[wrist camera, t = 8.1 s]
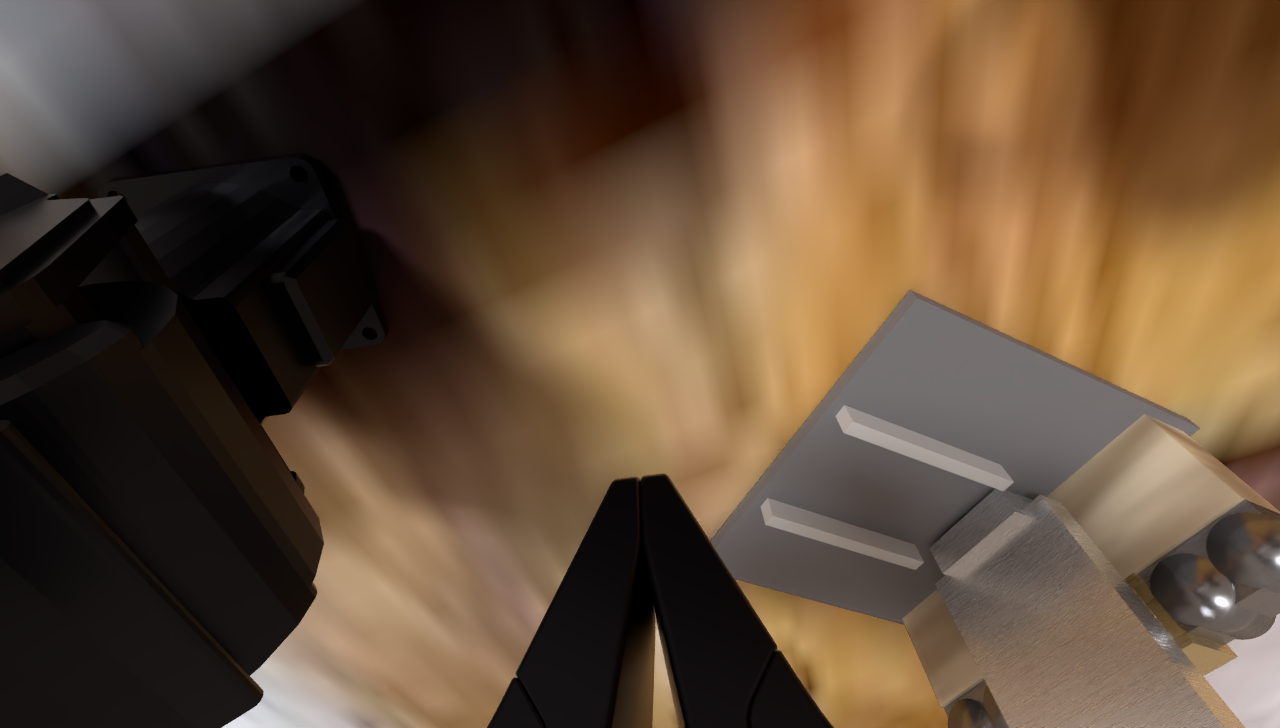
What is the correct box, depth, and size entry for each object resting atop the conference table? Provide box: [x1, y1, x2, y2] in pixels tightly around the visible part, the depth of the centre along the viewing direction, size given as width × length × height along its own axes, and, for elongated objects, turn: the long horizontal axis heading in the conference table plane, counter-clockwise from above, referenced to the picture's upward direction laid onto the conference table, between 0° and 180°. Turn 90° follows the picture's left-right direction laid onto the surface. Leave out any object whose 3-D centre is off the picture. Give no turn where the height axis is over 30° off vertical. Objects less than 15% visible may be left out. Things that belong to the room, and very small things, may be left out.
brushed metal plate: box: [929, 489, 1245, 728], centre depth 24 cm, size 6×6×10 cm
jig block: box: [902, 414, 1280, 708], centre depth 26 cm, size 2×15×4 cm, turn 155°
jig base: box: [710, 290, 1200, 625], centre depth 27 cm, size 15×16×2 cm
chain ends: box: [944, 499, 1280, 728], centre depth 23 cm, size 2×16×3 cm, turn 155°
